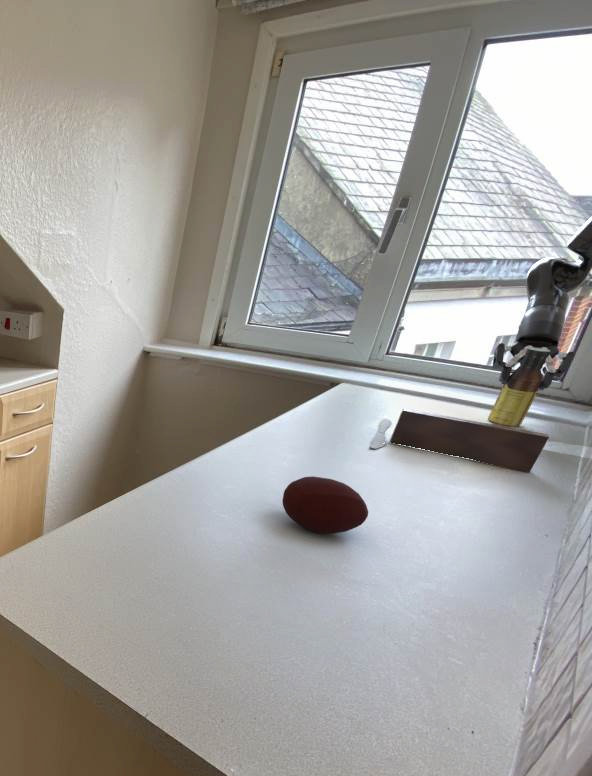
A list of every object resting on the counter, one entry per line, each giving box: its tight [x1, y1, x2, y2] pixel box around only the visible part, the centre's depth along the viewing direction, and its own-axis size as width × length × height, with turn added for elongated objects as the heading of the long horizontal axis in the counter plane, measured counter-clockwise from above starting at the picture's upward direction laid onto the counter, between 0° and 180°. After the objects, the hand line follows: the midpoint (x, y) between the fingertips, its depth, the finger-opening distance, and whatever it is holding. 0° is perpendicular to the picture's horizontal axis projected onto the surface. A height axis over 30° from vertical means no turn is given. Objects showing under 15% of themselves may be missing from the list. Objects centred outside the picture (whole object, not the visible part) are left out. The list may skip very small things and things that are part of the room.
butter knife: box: [369, 418, 392, 450], centre depth 132 cm, size 1×27×3 cm
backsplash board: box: [389, 407, 550, 474], centre depth 119 cm, size 24×2×8 cm, turn 53°
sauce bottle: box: [487, 347, 551, 428], centre depth 133 cm, size 7×6×20 cm
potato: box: [281, 475, 369, 535], centre depth 89 cm, size 12×11×8 cm
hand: (523, 385), depth 132 cm, fingers closed on sauce bottle, 6 cm apart
